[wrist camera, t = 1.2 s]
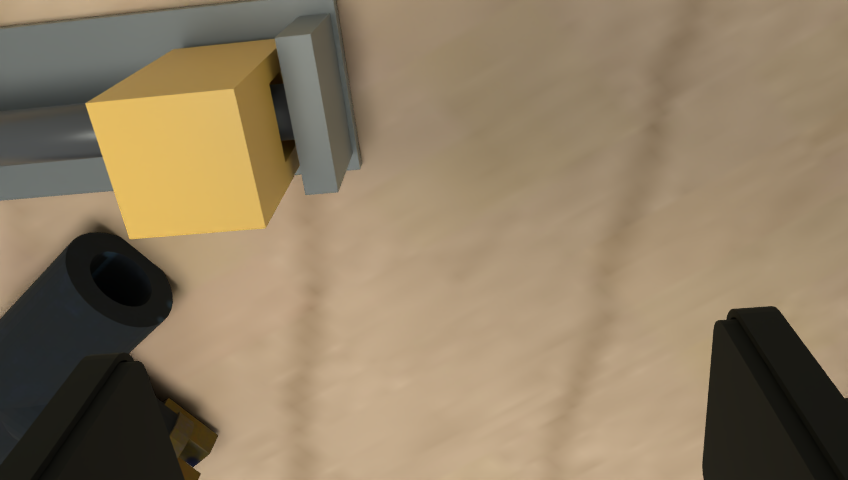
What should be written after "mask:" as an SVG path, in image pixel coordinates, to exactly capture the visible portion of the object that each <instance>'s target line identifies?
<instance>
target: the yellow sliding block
mask: <svg viewBox="0 0 848 480" xmlns="http://www.w3.org/2000/svg"><path fill="white" fill-rule="evenodd" d="M273 84H284V83H283V78H282V73H281V68H280V63H279V58H278V53H277V48H276V43H275V39H267V40H257V41H248V42H238V43H228V44H219V45H209V46H199V47H190V48H180V49H173V50H171V51H170V52H168V53H166V54H165V55H163V56H161V57H160V58H158V59H157V60H155V61H153V62H152V63H150V64H148V65H147V66H145V67H144V68H142V69H140V70H139V71H137V72H135V73H134V74H132V75H130V76H129V77H127V78H126V79H124V80H122V81H121V82H119V83H117V84H116V85H114V86H113V87H111V88H109V89H108V90H106V91H104V92H103V93H101V94H100V95H98V96H96V97H95V98H93V99H91V100H90V101H88V102H87V103H85V104H86V107H87V111H88V114H89V117H90V120H91V123H92V126H93V129H94V132H95V135H96V138H97V141H98V144H99V147H100V150H101V153H102V156H103V159H104V163H105V166H106V169H107V172H108V175H109V178H110V181H111V184H112V187H113V190H114V193H115V196H116V199H117V202H118V205H119V208H120V211H121V215H122V218H123V221H124V224H125V227H126V230H127V233H128V236H129V239H139V238H151V237H164V236H176V235H189V234H201V233H213V232H226V231H238V230H250V229H263V228H266V227H267V225H268V223H269V221H270V219H271V218H272V216H273V214H274V212H275V210H276V208H277V207H278V205H279V203H280V201H281V199H282V197H283V195H284V194H285V192H286V190H287V188H288V186H289V184H290V183H291V181H292V179H293V177H294V175H295V173H296V172H297V170H298V168H299V166H300V164H299V159H298V154H297V149H296V144H295V140H285V141H281V139H280V134H279V129H278V124H277V119H276V114H275V110H274V105H273V100H272V95H271V90H270V85H273Z"/></svg>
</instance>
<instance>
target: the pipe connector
mask: <svg viewBox="0 0 848 480" xmlns="http://www.w3.org/2000/svg"><path fill="white" fill-rule="evenodd" d="M172 303H173V299H172V291H171V287H170V284H169V282H168V280H167V278H166V276H165V274H164V273H163V271H162V270H161V269H160V268H158V267H157V266H156V265H155V264H153V263H152V262H151V261H150V260H148V259H147V258H146V257H145V256H143V255H142V254H141V253H140V252H138V251H137V250H136V249H135V248H133V247H132V246H131V245H130V244H129V243H127V242H126V241H125V240H124V239H122V238H121V237H118V236H115V235H111V234H108V233H99V232H95V233H87V234H84V235H80V236H79V237H77V238H76V239H74V240H73V241H72V242H71V243H70V244H69V245H68V246H67V248H66V249H65V250H64V251H63V252H62V253H61V254H60V255H59V256H58V257H57V258H56V259H55V260H54V262H53V263H52V264H51V265H50V266H49V267H48V268H47V269H46V270H45V271H44V272H43V273H42V275H41V276H40V277H39V278H38V279H37V280H36V281H35V282H34V283H33V284H32V285H31V286H30V287H29V289H28V290H27V291H26V292H25V293H24V294H23V295H22V296H21V297H20V298H19V299H18V300H17V301H16V303H15V304H14V305H13V306H12V307H11V308H10V309H9V310H8V311H7V312H6V313H5V314H4V316H3V317H2V318H1V319H0V465H1V464H2V462H3V461H4V460H5V459H6V457H7V456H8V455H9V453H10V452H11V451H12V449H13V448H14V447H15V446H16V444H17V443H18V442H19V440H20V439H21V438H22V436H23V435H24V434H25V433H26V431H27V430H28V429H29V427H30V426H31V425H32V423H33V422H34V421H35V419H36V418H37V417H38V416H39V414H40V413H41V412H42V410H43V409H44V408H45V406H46V405H47V404H48V403H49V401H50V400H51V399H52V397H53V396H54V395H55V393H56V392H57V391H58V390H59V388H60V387H61V386H62V384H63V383H64V382H65V380H66V379H67V378H68V377H69V375H70V374H71V373H72V371H73V370H74V369H75V367H76V366H77V365H78V364H79V362H80V361H81V360H82V359H83V358H84V357H85V356H88V355H96V354H110V353H128V354H129V353H130V352H131V351H132V350H133V349H134V348H135V347H136V346H137V345H138V344H139V343H140V342H141V341H142V340H144V339H145V338H146V337H147V336H148V335H149V334H150V333H151V332H152V331H153V330H154V329H155V328H156V327H157V326H158V325H160V324H161V323H162V322H163V321H164V320H165V319H166V318H167V317H168V315H169V313H170V311H171V308H172ZM156 399H157V398H156ZM157 402H158V405H159V408H160V411H161V414H162V416H163V419H164V422H165V425H166V428H167V431H168V433H169V436H170V439H171V442H172V445H173V448H174V450H175V453H176V456H177V459H178V462H179V465H180V468H181V470H182V473H183V476H184V479H185V480H198V479H199V476H200V474H201V473H199V472H198V471H197V470H195V469H194V468H193V467H194V466H195V465H197V464H198V463H199V462H200V461H202V460H203V459H204V458H205V457H206V456H208V455H209V454H210V452H211V450H212V448H213V446H214V443H215V441H216V439H217V437H218V435H217V434H215V433H214V432H213V431H212V430H210V429H209V428H208V427H206V426H205V425H204V424H202V423H201V422H200V421H198V420H197V419H196V418H194V417H193V416H192V415H191V414H189V413H188V412H187V411H185V410H184V409H183V408H181V407H180V406H179V405H177V404H176V403H175V402H174V401H172V400H171V399H170V398H168V399H167V400H166V401H164V402H161V401H160V400H159V399H157ZM186 462H187V463H188V464H190V465H191V466H192V467H191V466H190V465H188V464H187V463H186Z"/></svg>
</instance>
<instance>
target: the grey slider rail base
mask: <svg viewBox="0 0 848 480" xmlns="http://www.w3.org/2000/svg"><path fill="white" fill-rule="evenodd" d="M267 39H275V43H276V48H277V53H278V58H279V63H280V68H281V73H282V78H283V83H284V84H273V85H270V90H271V95H272V100H273V105H274V110H275V114H276V119H277V124H278V129H279V134H280V139H281V141H285V140H295V144H296V149H297V154H298V159H299V164H300V166H299V168H298V170H297V172H296V173H295V175H300V174H302V179H303V185H304V190H305V195H311V194H323V193H335V192H338V191H339V189H340V186H341V183H342V181H343V178H344V175H345V173H346V170H358V169H360V168H361V165H362V163H361V156H360V150H359V144H358V137H357V131H356V124H355V118H354V112H353V105H352V99H351V92H350V86H349V80H348V73H347V67H346V60H345V54H344V48H343V41H342V35H341V28H340V22H339V16H338V9H337V3H336V0H244V1H235V2H226V3H217V4H208V5H198V6H189V7H180V8H171V9H162V10H153V11H143V12H134V13H125V14H116V15H107V16H97V17H88V18H79V19H70V20H61V21H52V22H42V23H33V24H24V25H15V26H6V27H0V201H1V200H13V199H24V198H36V197H47V196H59V195H70V194H82V193H93V192H105V191H114V190H113V187H112V184H111V181H110V178H109V175H108V172H107V169H106V166H105V163H104V159H103V156H102V153H101V150H100V147H99V144H98V141H97V138H96V135H95V132H94V129H93V126H92V123H91V120H90V117H89V114H88V111H87V107H86V104H85V103H87V102H88V101H90V100H91V99H93V98H95V97H96V96H98V95H100V94H101V93H103V92H104V91H106V90H108V89H109V88H111V87H113V86H114V85H116V84H117V83H119V82H121V81H122V80H124V79H126V78H127V77H129V76H130V75H132V74H134V73H135V72H137V71H139V70H140V69H142V68H144V67H145V66H147V65H148V64H150V63H152V62H153V61H155V60H157V59H158V58H160V57H161V56H163V55H165V54H166V53H168V52H170V51H171V50H173V49H180V48H190V47H199V46H209V45H219V44H228V43H238V42H248V41H257V40H267Z"/></svg>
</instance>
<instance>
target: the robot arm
mask: <svg viewBox="0 0 848 480" xmlns="http://www.w3.org/2000/svg"><path fill="white" fill-rule="evenodd" d="M702 469H703V477H704V480H848V398H844V397H843V396H842V394H841V393H840V392H839V390H838V389H837V388H836V386H835V385H834V384H833V382H832V381H831V380H830V378H829V377H828V376H827V374H826V373H825V371H824V370H823V369H822V367H821V366H820V365H819V363H818V362H817V361H816V359H815V358H814V357H813V355H812V354H811V353H810V351H809V350H808V349H807V347H806V346H805V345H804V343H803V342H802V341H801V339H800V338H799V336H798V335H797V334H796V332H795V331H794V330H793V328H792V327H791V326H790V324H789V323H788V322H787V320H786V319H785V318H784V316H783V315H782V314H781V312H780V311H779V310H778V309H777V308H776V307H773V306H768V307H754V308H740V309H731V310H730V311H729V313H728V315H727V320H718V321H716V323H715V325H714V331H713V343H712V355H711V367H710V379H709V391H708V403H707V415H706V427H705V439H704V451H703V464H702ZM0 480H185V479H184V476H183V473H182V470H181V468H180V465H179V462H178V459H177V456H176V453H175V450H174V448H173V445H172V442H171V439H170V436H169V433H168V431H167V428H166V425H165V422H164V419H163V416H162V414H161V411H160V408H159V405H158V402H157V399H156V396H155V394H154V391H153V388H152V385H151V382H150V379H149V377H148V374H147V371H146V369H145V367H144V365H143V364H142V363H141V362H139V361H134V360H133V358H132V357H131V356H130V355H129V354H128V353H110V354H96V355H88V356H85V357H84V358H83V359H82V360H81V361H80V362H79V364H78V365H77V366H76V367H75V369H74V370H73V371H72V373H71V374H70V375H69V377H68V378H67V379H66V380H65V382H64V383H63V384H62V386H61V387H60V388H59V390H58V391H57V392H56V393H55V395H54V396H53V397H52V399H51V400H50V401H49V403H48V404H47V405H46V406H45V408H44V409H43V410H42V412H41V413H40V414H39V416H38V417H37V418H36V419H35V421H34V422H33V423H32V425H31V426H30V427H29V429H28V430H27V431H26V433H25V434H24V435H23V436H22V438H21V439H20V440H19V442H18V443H17V444H16V446H15V447H14V448H13V449H12V451H11V452H10V453H9V455H8V456H7V457H6V459H5V460H4V461H3V462H2V464H1V465H0Z"/></svg>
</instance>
